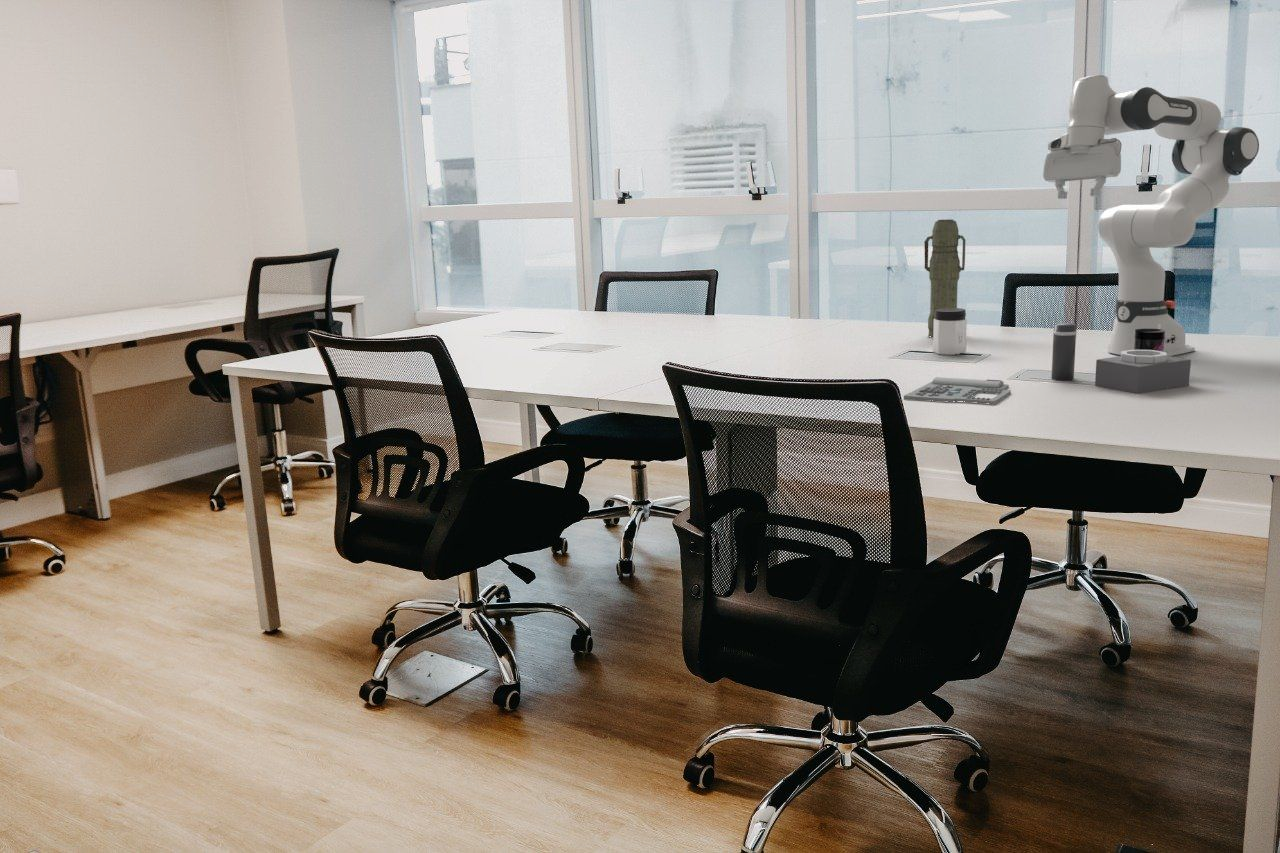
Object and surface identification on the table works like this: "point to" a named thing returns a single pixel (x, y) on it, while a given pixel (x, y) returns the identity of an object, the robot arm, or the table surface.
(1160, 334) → the supplement container
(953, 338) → the jar
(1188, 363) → the camera body
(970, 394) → the office telephone
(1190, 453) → the table surface
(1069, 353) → the lens
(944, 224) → the thermos
